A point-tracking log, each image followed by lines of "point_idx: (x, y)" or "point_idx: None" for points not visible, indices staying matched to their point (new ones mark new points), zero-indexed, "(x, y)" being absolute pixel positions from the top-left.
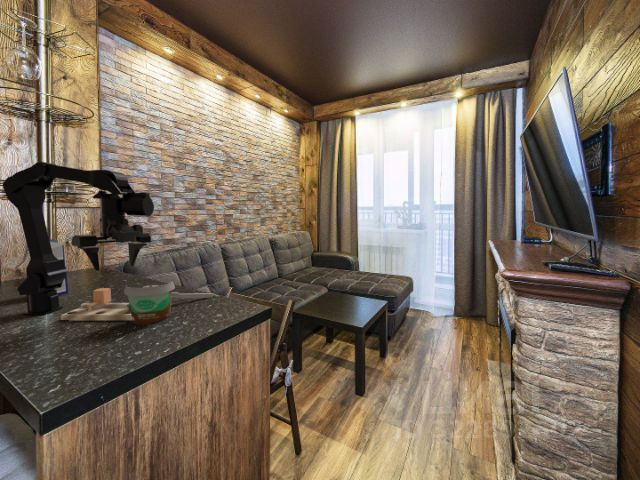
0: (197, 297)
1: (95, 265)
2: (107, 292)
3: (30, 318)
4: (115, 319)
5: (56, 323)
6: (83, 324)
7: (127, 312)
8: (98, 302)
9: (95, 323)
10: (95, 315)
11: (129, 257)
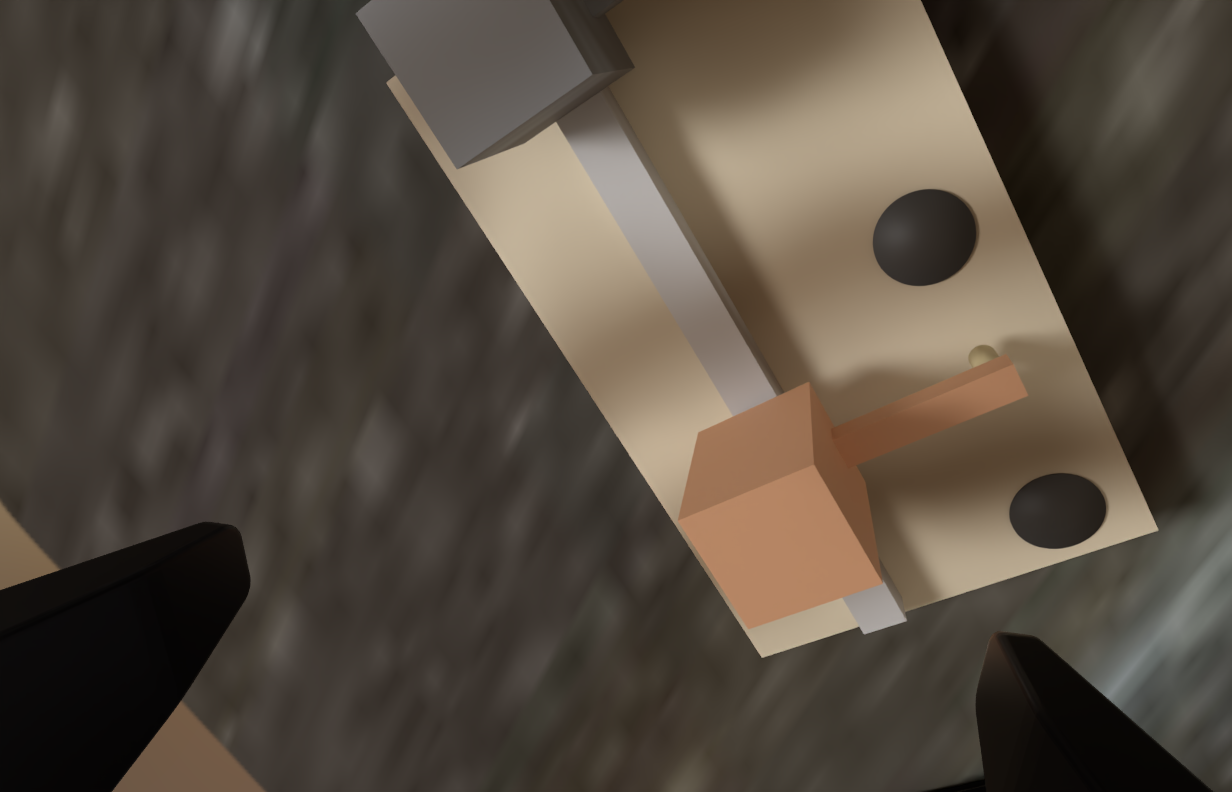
0: None
1: (1155, 759)
2: (738, 474)
3: None
4: None
5: (1214, 455)
6: (1142, 172)
7: None
8: (861, 421)
9: (1066, 82)
10: (1009, 201)
11: (98, 786)
